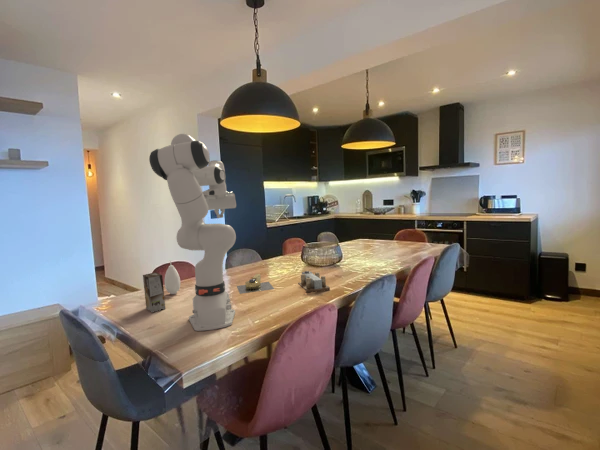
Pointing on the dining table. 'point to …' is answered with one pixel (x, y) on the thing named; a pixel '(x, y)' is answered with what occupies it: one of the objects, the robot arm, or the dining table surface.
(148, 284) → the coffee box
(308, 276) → the grey rectangular bar
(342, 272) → the dining table surface
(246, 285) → the khaki elongated piece
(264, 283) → the dial base
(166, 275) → the white teardrop candle
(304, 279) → the cradle
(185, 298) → the dining table surface
